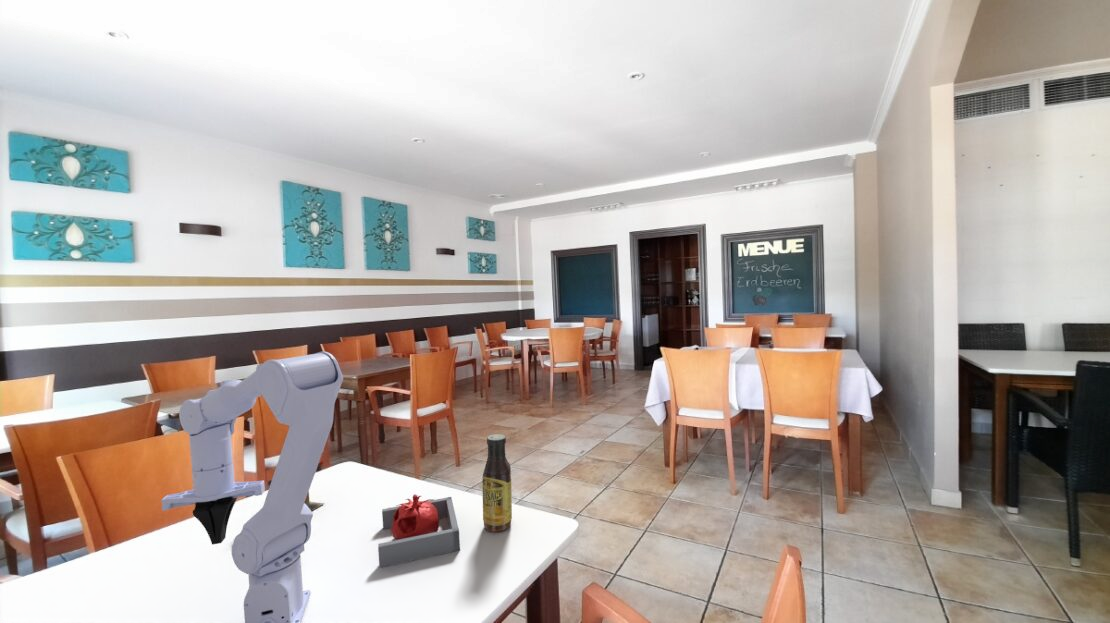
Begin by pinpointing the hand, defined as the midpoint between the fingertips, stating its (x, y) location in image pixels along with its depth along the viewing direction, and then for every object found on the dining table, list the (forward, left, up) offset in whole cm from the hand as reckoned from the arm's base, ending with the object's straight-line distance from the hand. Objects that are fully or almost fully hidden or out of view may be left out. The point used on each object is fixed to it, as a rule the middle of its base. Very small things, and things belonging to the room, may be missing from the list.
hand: (218, 541), depth 78 cm
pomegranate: (+6, -33, -10) cm, 35 cm away
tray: (+5, -34, -9) cm, 35 cm away
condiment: (+30, -6, -10) cm, 32 cm away
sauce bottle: (+3, -50, -10) cm, 51 cm away
